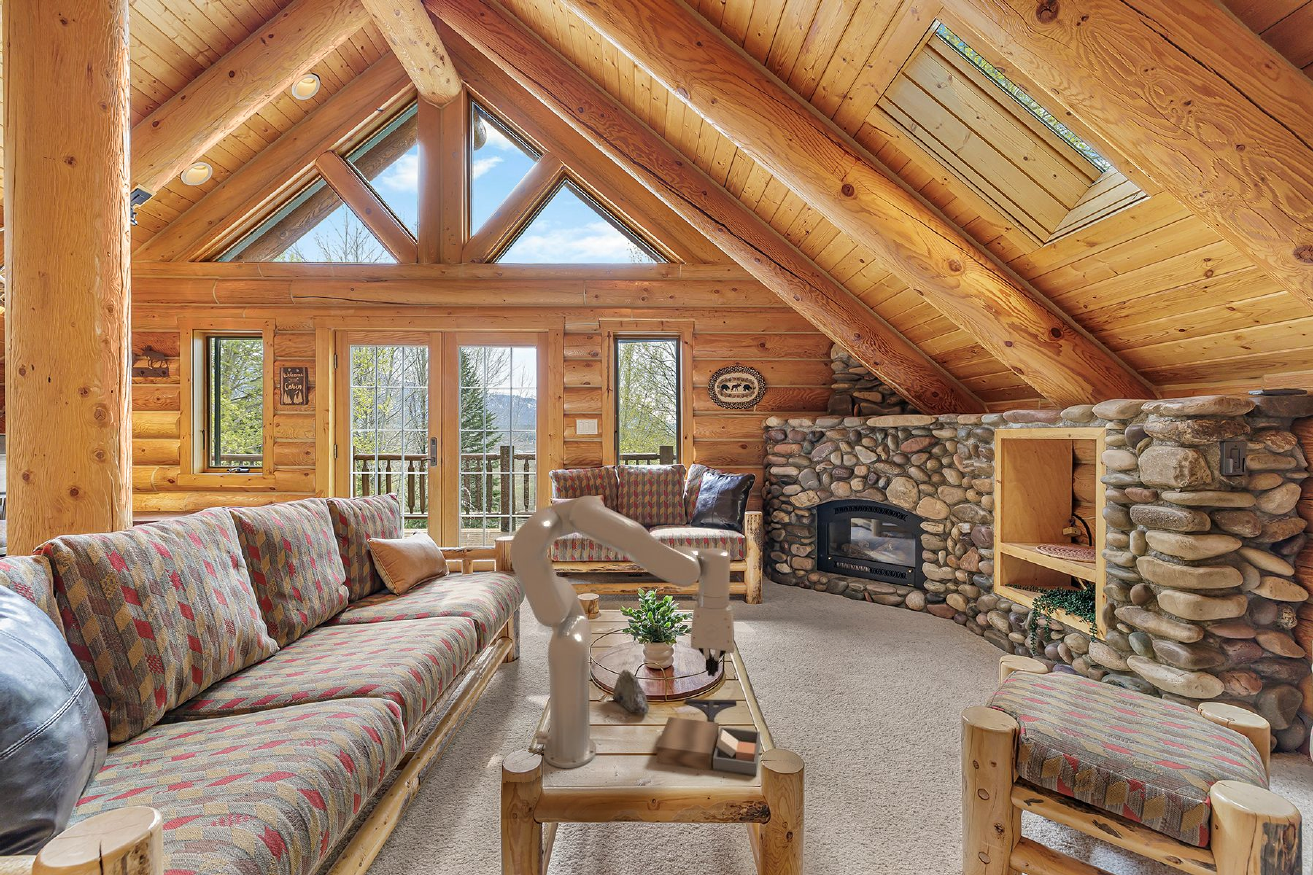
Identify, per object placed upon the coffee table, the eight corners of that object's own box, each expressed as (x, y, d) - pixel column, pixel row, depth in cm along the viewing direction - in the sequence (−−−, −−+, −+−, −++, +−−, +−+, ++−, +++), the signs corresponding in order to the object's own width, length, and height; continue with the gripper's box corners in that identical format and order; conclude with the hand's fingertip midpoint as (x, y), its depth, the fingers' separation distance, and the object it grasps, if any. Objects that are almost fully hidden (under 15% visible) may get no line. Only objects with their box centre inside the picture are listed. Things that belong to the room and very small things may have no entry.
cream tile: (716, 745, 146) (720, 739, 146) (718, 735, 151) (722, 729, 150) (731, 757, 146) (736, 750, 145) (733, 746, 150) (738, 740, 150)
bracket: (684, 731, 160) (684, 720, 160) (685, 703, 175) (685, 693, 175) (739, 733, 159) (739, 723, 159) (736, 705, 174) (736, 695, 174)
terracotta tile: (755, 753, 144) (755, 761, 144) (756, 743, 149) (756, 751, 149) (736, 751, 145) (736, 759, 145) (737, 741, 150) (737, 749, 150)
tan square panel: (656, 762, 145) (656, 746, 145) (668, 731, 159) (668, 716, 158) (710, 770, 142) (710, 753, 142) (718, 737, 156) (718, 722, 155)
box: (713, 770, 142) (713, 757, 142) (720, 738, 156) (720, 726, 155) (756, 776, 140) (756, 763, 140) (760, 743, 153) (760, 731, 153)
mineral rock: (648, 720, 164) (648, 684, 164) (608, 720, 165) (608, 683, 164) (650, 697, 177) (650, 663, 177) (613, 697, 178) (613, 663, 177)
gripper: (680, 602, 146) (678, 676, 147) (742, 608, 142) (740, 684, 143) (686, 592, 153) (685, 663, 154) (746, 598, 150) (744, 670, 151)
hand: (712, 673), depth 149 cm, fingers closed
